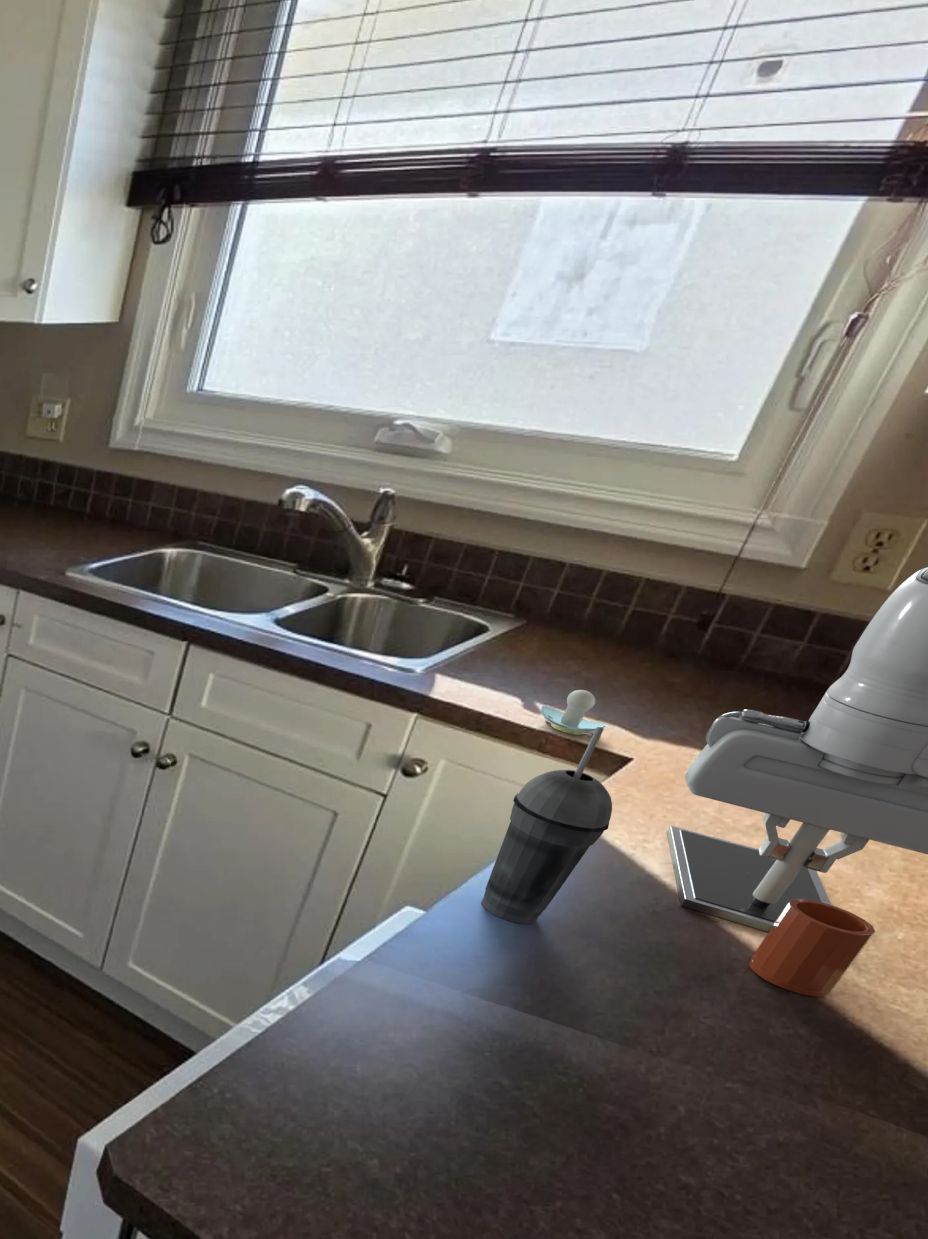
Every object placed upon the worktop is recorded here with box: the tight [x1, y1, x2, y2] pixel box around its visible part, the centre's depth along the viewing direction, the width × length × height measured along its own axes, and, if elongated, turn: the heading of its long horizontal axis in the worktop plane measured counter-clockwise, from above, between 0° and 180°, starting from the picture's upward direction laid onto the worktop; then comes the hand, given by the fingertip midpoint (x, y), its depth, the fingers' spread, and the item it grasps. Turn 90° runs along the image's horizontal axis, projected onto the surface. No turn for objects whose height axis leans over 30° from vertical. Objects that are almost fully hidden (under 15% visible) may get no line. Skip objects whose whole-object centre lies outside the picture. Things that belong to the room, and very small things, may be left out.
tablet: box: [666, 825, 832, 933], centre depth 108 cm, size 12×20×1 cm, turn 141°
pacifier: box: [540, 689, 607, 736], centre depth 143 cm, size 7×6×6 cm
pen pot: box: [748, 899, 876, 998], centre depth 92 cm, size 5×5×7 cm
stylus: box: [752, 822, 831, 908], centre depth 100 cm, size 2×2×14 cm
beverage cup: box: [481, 727, 613, 925], centre depth 97 cm, size 7×7×20 cm
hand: (791, 862), depth 100 cm, fingers closed on stylus, 2 cm apart
